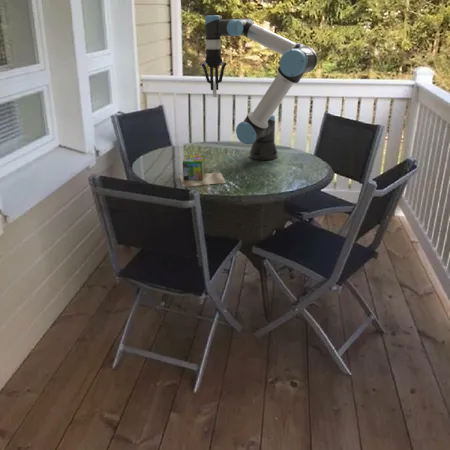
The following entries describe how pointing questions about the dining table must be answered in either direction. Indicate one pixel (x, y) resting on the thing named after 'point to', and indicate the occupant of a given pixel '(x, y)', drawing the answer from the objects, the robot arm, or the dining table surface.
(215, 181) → the board
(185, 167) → the chalk box
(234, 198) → the dining table surface
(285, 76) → the robot arm
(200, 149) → the dining table surface
